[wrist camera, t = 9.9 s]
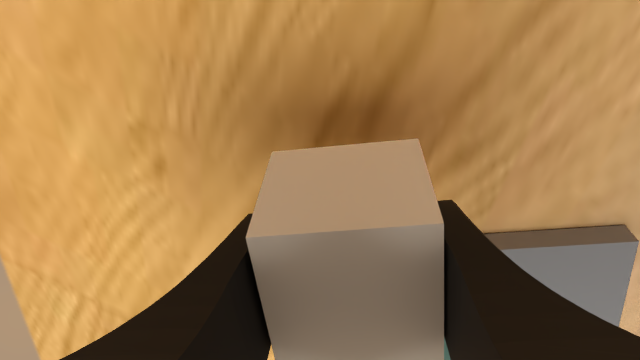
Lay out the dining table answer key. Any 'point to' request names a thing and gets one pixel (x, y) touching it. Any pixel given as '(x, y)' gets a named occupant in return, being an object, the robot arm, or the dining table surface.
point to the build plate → (577, 264)
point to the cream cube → (350, 253)
